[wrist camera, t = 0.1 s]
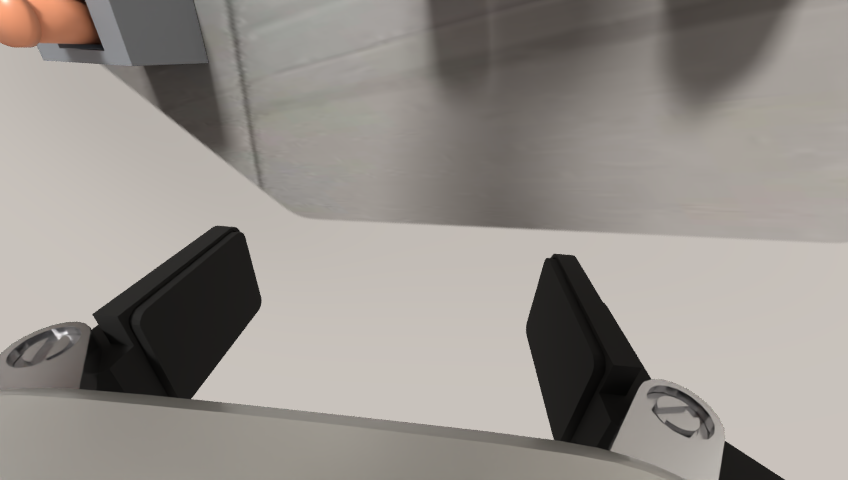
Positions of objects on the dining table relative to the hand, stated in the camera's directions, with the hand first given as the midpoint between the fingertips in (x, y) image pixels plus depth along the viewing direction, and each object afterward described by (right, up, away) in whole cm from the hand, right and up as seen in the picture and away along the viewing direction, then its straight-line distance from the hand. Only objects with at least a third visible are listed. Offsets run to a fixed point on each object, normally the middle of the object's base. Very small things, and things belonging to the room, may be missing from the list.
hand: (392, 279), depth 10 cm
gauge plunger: (-28, +20, +18) cm, 38 cm away
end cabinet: (-27, +24, +25) cm, 44 cm away
